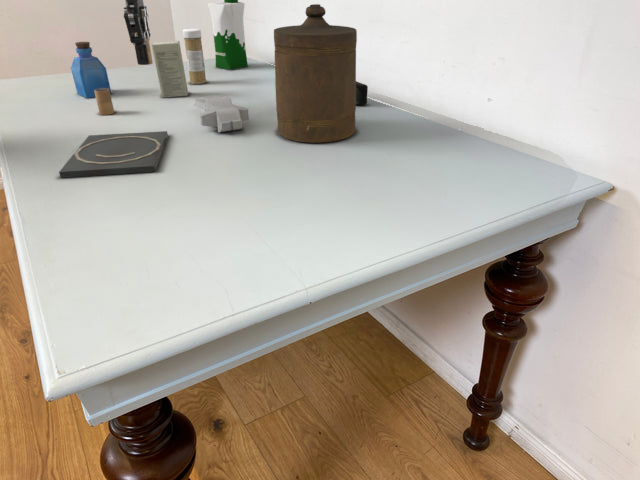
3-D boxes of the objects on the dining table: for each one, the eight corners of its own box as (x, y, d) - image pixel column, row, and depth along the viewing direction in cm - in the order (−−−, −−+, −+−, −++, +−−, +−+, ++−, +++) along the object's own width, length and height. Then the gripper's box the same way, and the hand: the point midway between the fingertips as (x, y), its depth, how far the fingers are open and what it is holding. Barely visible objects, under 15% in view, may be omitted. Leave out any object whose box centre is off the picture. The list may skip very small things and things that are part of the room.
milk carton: (252, 66, 150) (246, -6, 140) (229, 71, 144) (222, -4, 134) (233, 63, 155) (227, -7, 145) (211, 67, 149) (202, -5, 139)
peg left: (98, 115, 103) (92, 90, 101) (101, 111, 106) (95, 87, 103) (112, 114, 104) (107, 90, 101) (115, 110, 106) (110, 87, 104)
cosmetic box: (188, 92, 121) (180, 40, 115) (187, 96, 117) (180, 42, 111) (161, 93, 120) (152, 41, 113) (160, 98, 116) (151, 43, 110)
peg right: (136, 65, 99) (131, 38, 97) (139, 62, 102) (134, 36, 99) (151, 64, 100) (147, 38, 97) (153, 62, 102) (149, 36, 100)
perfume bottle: (77, 93, 120) (64, 42, 114) (102, 89, 124) (90, 40, 118) (86, 98, 116) (73, 45, 110) (111, 94, 120) (100, 42, 114)
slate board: (60, 178, 73) (58, 171, 73) (90, 140, 89) (88, 134, 88) (155, 171, 75) (153, 165, 74) (168, 136, 90) (167, 130, 90)
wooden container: (328, 116, 101) (328, 0, 90) (370, 135, 90) (376, 5, 79) (264, 127, 95) (256, 3, 84) (301, 149, 84) (297, 9, 73)
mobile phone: (370, 83, 107) (328, 71, 117) (360, 85, 105) (319, 72, 115) (369, 105, 109) (328, 91, 119) (358, 108, 108) (318, 93, 118)
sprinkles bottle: (194, 80, 132) (187, 27, 126) (209, 81, 132) (203, 28, 125) (186, 84, 129) (179, 30, 122) (202, 85, 128) (195, 30, 121)
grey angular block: (205, 116, 87) (187, 89, 98) (208, 142, 90) (190, 114, 101) (255, 110, 91) (232, 85, 101) (256, 135, 94) (233, 108, 104)
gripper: (115, -32, 98) (132, 57, 106) (99, -32, 86) (119, 69, 94) (154, -32, 99) (167, 56, 107) (143, -32, 87) (159, 68, 95)
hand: (145, 62), depth 101 cm, fingers closed on peg right, 3 cm apart
